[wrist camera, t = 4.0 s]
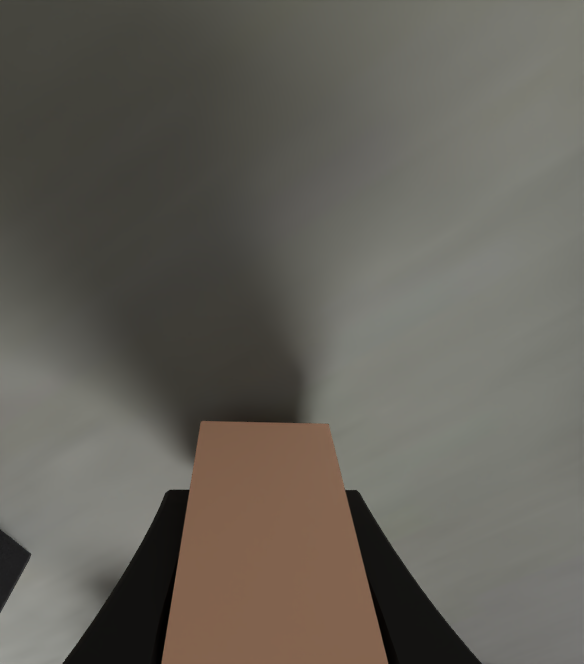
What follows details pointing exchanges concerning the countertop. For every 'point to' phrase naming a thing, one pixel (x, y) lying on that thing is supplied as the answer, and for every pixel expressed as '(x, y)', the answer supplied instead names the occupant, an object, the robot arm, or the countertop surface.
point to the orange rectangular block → (270, 554)
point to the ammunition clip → (10, 565)
